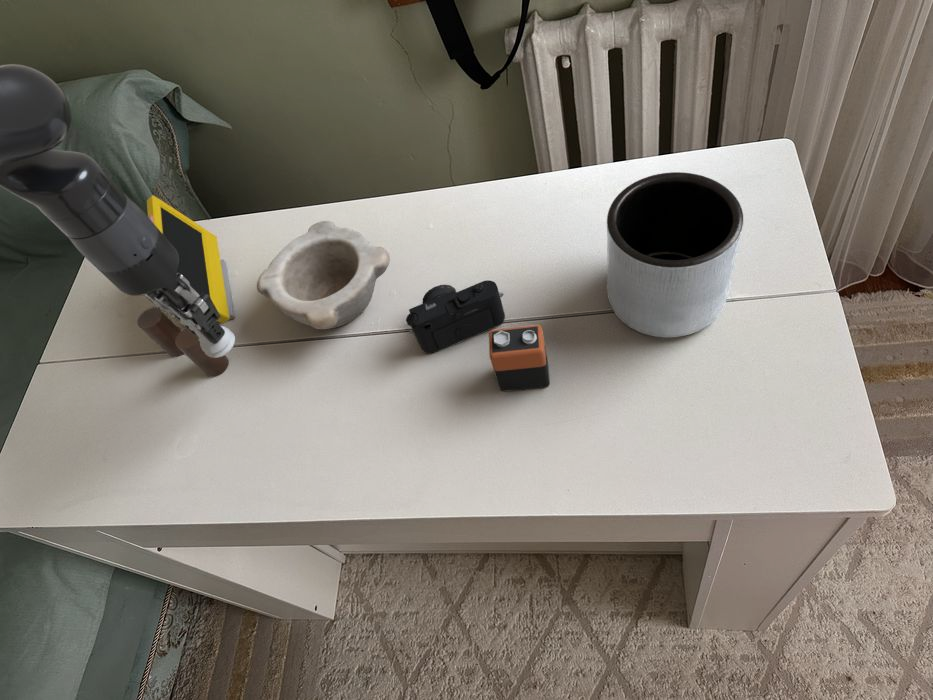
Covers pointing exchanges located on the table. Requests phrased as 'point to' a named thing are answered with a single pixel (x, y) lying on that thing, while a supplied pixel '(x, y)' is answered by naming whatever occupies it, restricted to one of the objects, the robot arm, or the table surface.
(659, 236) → the planter
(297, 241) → the mortar
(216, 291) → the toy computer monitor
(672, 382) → the table surface
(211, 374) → the near post
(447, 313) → the camera
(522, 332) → the battery
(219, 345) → the rook chess piece
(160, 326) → the far post
